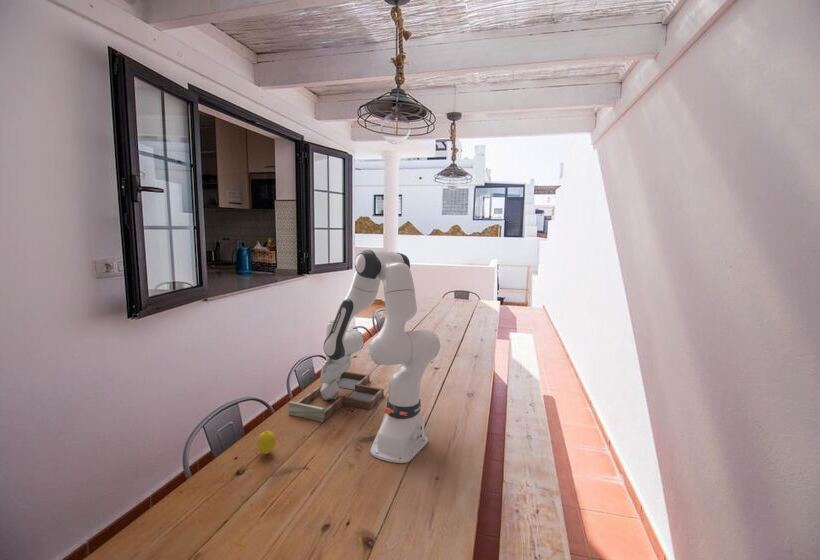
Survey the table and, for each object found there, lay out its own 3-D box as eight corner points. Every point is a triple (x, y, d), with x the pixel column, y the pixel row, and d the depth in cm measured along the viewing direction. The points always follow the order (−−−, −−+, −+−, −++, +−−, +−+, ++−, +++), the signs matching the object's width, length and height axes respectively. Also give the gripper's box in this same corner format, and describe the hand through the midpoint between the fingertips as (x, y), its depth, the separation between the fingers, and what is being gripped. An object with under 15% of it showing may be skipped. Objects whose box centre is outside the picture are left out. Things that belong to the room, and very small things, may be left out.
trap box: (351, 428, 142) (352, 415, 141) (288, 414, 150) (288, 402, 150) (393, 385, 181) (393, 375, 181) (341, 376, 190) (341, 366, 190)
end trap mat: (354, 390, 174) (354, 389, 174) (331, 386, 178) (331, 385, 178) (364, 381, 184) (364, 381, 184) (342, 378, 188) (342, 377, 188)
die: (332, 406, 160) (344, 386, 162) (314, 396, 159) (327, 375, 162) (332, 403, 168) (344, 383, 170) (315, 393, 167) (327, 374, 170)
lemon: (265, 460, 120) (264, 437, 119) (254, 455, 123) (253, 432, 122) (279, 452, 125) (279, 429, 124) (268, 447, 128) (268, 424, 127)
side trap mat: (368, 406, 159) (368, 406, 159) (343, 402, 162) (343, 401, 162) (378, 396, 169) (378, 395, 169) (355, 391, 173) (355, 391, 173)
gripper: (329, 364, 157) (329, 396, 158) (353, 349, 176) (352, 378, 178) (316, 362, 159) (316, 393, 161) (341, 348, 178) (341, 376, 180)
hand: (335, 385), depth 169 cm, fingers closed
